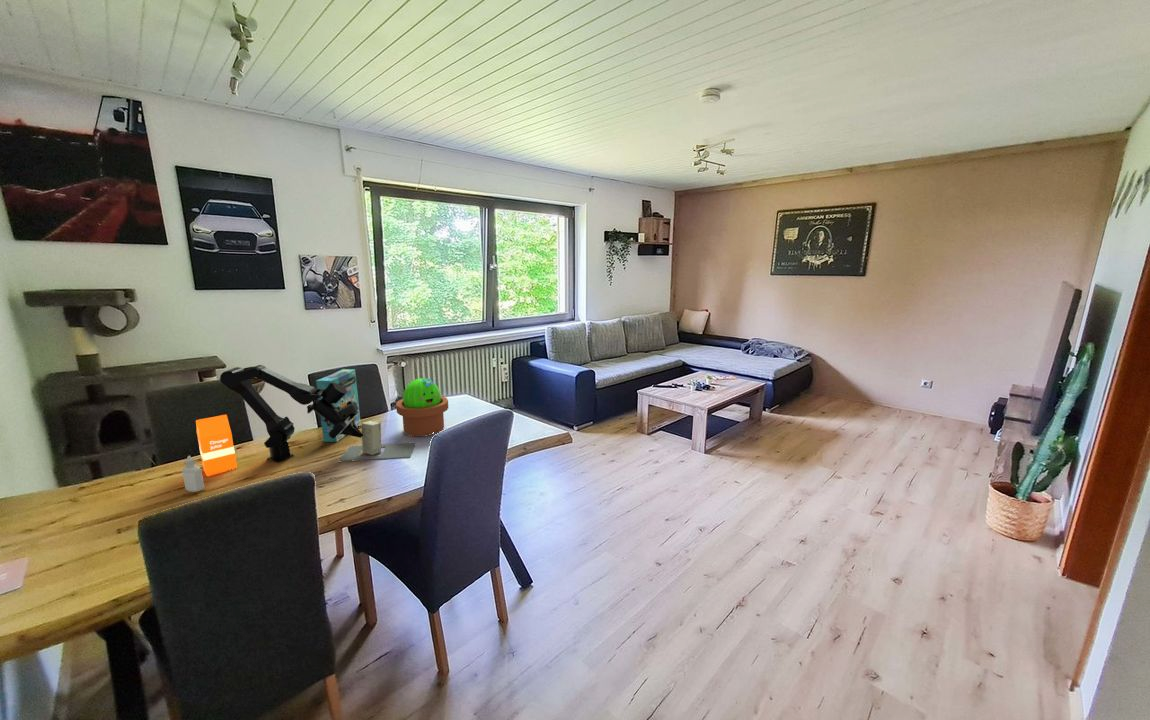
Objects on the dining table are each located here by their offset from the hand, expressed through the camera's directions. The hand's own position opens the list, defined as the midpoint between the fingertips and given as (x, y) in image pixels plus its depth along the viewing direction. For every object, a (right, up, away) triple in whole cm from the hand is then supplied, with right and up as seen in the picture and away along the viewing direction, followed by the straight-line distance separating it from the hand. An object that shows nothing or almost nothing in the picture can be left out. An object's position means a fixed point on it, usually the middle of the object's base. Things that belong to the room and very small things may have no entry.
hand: (361, 436), depth 172 cm
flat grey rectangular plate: (+6, -7, +3) cm, 9 cm away
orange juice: (-46, -10, -13) cm, 48 cm away
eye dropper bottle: (-42, -13, -28) cm, 52 cm away
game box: (-19, -2, +22) cm, 29 cm away
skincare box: (+3, -7, +2) cm, 8 cm away
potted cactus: (+15, -2, +27) cm, 31 cm away
